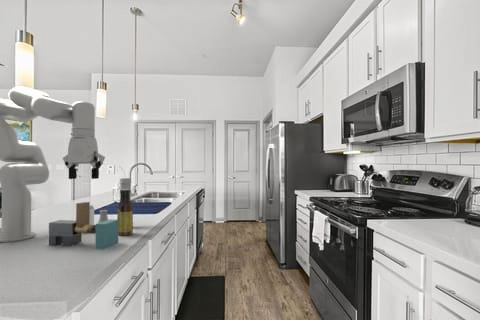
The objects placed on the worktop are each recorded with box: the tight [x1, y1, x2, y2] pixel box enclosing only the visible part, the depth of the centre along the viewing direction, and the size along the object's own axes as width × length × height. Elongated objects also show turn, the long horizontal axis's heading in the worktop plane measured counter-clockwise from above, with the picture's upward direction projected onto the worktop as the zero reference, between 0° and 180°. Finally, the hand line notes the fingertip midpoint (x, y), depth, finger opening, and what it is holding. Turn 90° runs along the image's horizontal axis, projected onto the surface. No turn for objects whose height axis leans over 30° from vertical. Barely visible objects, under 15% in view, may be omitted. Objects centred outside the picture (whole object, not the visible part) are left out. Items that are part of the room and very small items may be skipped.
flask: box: [97, 209, 109, 223], centre depth 120 cm, size 7×7×10 cm
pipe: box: [118, 166, 132, 199], centre depth 129 cm, size 6×6×30 cm
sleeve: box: [48, 219, 83, 247], centre depth 103 cm, size 10×6×8 cm, turn 81°
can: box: [89, 204, 95, 225], centre depth 123 cm, size 7×7×12 cm
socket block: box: [94, 219, 119, 250], centre depth 100 cm, size 4×8×9 cm, turn 171°
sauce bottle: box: [116, 188, 134, 237], centre depth 116 cm, size 6×6×20 cm
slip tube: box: [73, 201, 96, 235], centre depth 102 cm, size 16×4×12 cm, turn 81°
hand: (83, 178), depth 102 cm, fingers open, 9 cm apart
